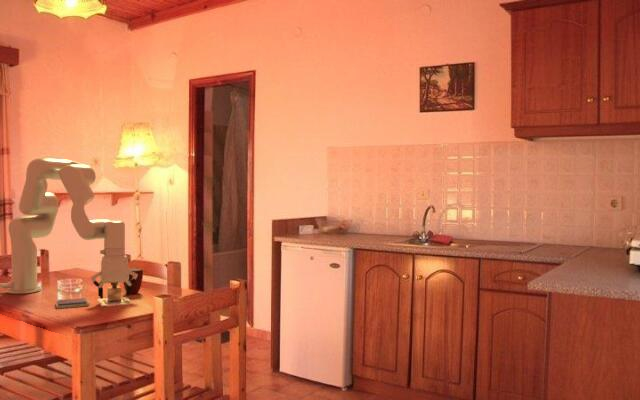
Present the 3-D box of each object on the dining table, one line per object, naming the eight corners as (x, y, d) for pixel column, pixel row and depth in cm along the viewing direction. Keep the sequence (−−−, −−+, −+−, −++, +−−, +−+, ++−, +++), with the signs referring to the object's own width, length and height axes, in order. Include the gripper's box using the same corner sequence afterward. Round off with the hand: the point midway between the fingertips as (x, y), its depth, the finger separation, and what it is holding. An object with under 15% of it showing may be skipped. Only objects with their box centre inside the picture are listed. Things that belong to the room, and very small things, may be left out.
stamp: (109, 302, 214) (109, 280, 214) (107, 300, 218) (107, 278, 218) (121, 301, 216) (121, 279, 216) (119, 299, 220) (119, 277, 220)
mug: (119, 291, 238) (119, 268, 238) (138, 290, 242) (138, 267, 242) (125, 296, 229) (125, 271, 229) (145, 294, 233) (145, 270, 233)
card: (101, 306, 208) (101, 305, 208) (97, 299, 221) (97, 298, 221) (132, 304, 214) (132, 303, 214) (126, 297, 226) (126, 296, 226)
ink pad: (56, 308, 205) (56, 304, 205) (55, 303, 213) (55, 300, 213) (89, 305, 210) (89, 301, 210) (86, 301, 218) (86, 297, 218)
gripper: (91, 254, 209) (91, 300, 210) (139, 252, 217) (139, 296, 218) (89, 252, 216) (89, 297, 216) (136, 250, 224) (136, 293, 224)
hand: (114, 296), depth 217 cm, fingers open, 9 cm apart
